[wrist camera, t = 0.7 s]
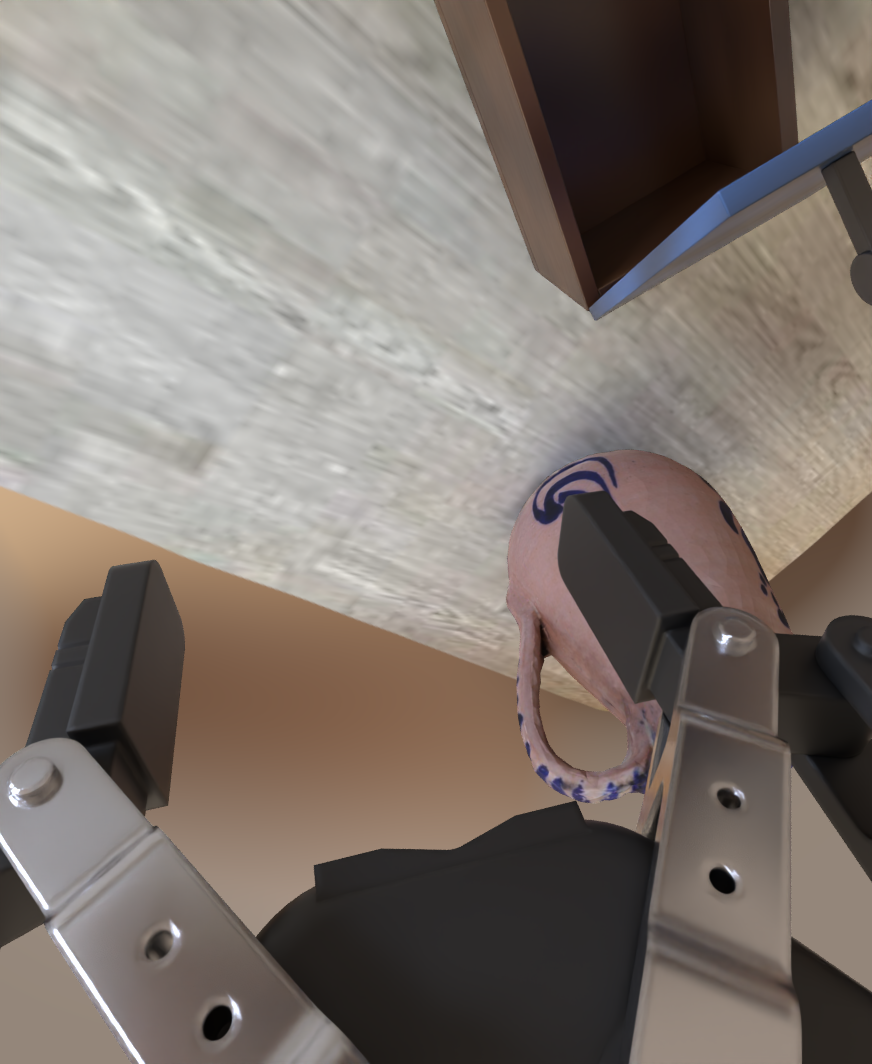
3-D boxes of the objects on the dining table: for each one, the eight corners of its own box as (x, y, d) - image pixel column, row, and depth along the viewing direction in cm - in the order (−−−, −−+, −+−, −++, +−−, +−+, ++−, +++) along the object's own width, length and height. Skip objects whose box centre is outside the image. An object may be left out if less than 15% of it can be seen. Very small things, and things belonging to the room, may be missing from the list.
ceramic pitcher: (680, 536, 60) (880, 765, 41) (479, 620, 61) (584, 884, 42) (665, 382, 49) (931, 598, 30) (419, 487, 50) (525, 765, 31)
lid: (717, 190, 17) (799, 366, 18) (1185, -88, 16) (1255, 115, 16) (588, 308, 34) (632, 394, 35) (804, 181, 33) (846, 274, 34)
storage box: (419, -37, 31) (464, -59, 24) (655, -198, 29) (769, -267, 23) (535, 270, 41) (588, 312, 35) (712, 164, 40) (802, 187, 33)
